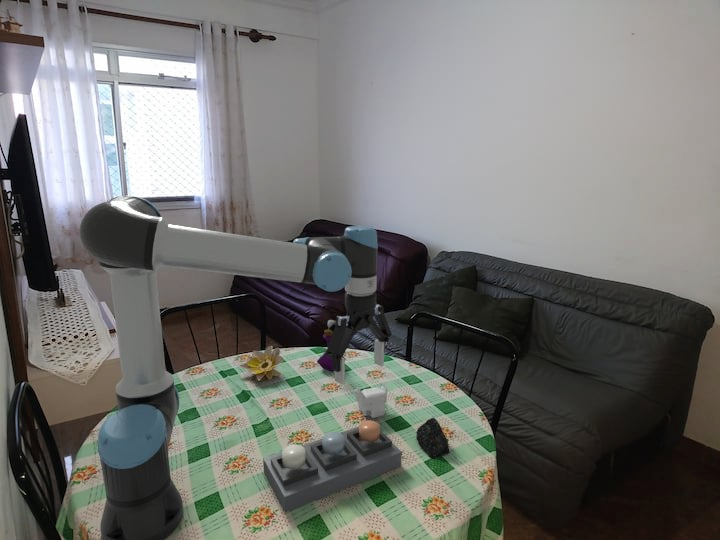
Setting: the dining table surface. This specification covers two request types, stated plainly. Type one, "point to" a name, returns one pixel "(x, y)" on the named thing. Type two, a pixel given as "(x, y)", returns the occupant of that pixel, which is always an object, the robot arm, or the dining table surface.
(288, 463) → the ivory button
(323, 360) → the perfume bottle
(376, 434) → the terracotta button
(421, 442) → the rock
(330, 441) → the slate button
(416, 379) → the dining table surface
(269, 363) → the decorative flower
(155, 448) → the robot arm
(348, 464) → the console
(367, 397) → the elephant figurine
